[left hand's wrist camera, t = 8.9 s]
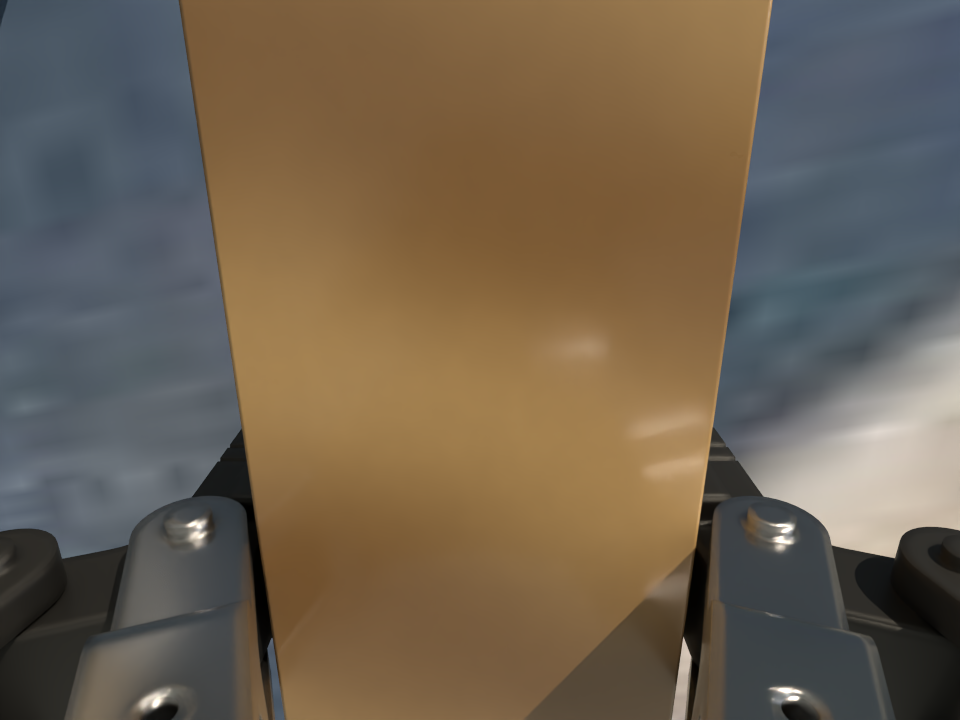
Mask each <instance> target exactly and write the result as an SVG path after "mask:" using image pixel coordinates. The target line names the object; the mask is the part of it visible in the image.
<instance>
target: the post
mask: <svg viewBox="0 0 960 720" xmlns="http://www.w3.org/2000/svg"><path fill="white" fill-rule="evenodd" d="M772 1H773V0H179V5H180V12H181V19H182V26H183V32H184V39H185V46H186V53H187V59H188V66H189V73H190V80H191V87H192V93H193V100H194V107H195V114H196V120H197V127H198V134H199V141H200V148H201V154H202V161H203V168H204V175H205V181H206V188H207V195H208V202H209V209H210V215H211V222H212V229H213V236H214V243H215V249H216V256H217V263H218V270H219V276H220V283H221V290H222V297H223V304H224V310H225V317H226V324H227V331H228V337H229V344H230V351H231V358H232V365H233V371H234V378H235V385H236V392H237V398H238V405H239V412H240V419H241V426H242V432H243V439H244V446H245V453H246V460H247V466H248V473H249V480H250V487H251V493H252V500H253V507H254V514H255V521H256V527H257V534H258V541H259V548H260V554H261V561H262V568H263V575H264V582H265V588H266V595H267V602H268V609H269V615H270V622H271V629H272V636H273V643H274V649H275V656H276V663H277V670H278V676H279V683H280V690H281V697H282V704H283V710H284V717H285V720H672V713H673V705H674V698H675V691H676V684H677V677H678V670H679V663H680V656H681V648H682V641H683V634H684V627H685V620H686V613H687V606H688V599H689V591H690V584H691V577H692V570H693V563H694V556H695V549H696V542H697V535H698V527H699V520H700V513H701V506H702V499H703V492H704V485H705V478H706V470H707V463H708V456H709V449H710V442H711V435H712V428H713V421H714V414H715V406H716V399H717V392H718V385H719V378H720V371H721V364H722V357H723V349H724V342H725V335H726V328H727V321H728V314H729V307H730V300H731V292H732V285H733V278H734V271H735V264H736V257H737V250H738V243H739V236H740V228H741V221H742V214H743V207H744V200H745V193H746V186H747V179H748V171H749V164H750V157H751V150H752V143H753V136H754V129H755V122H756V115H757V107H758V100H759V93H760V86H761V79H762V72H763V65H764V58H765V50H766V43H767V36H768V29H769V22H770V15H771V8H772Z"/></svg>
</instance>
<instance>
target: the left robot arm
mask: <svg viewBox="0 0 960 720" xmlns="http://www.w3.org/2000/svg"><path fill="white" fill-rule="evenodd" d="M683 637H684V639H685V641H686V644H687V647H688V649H689V652H690V655H691V663H690V669H689V678H688V690H687V701H686V713H685V720H960V531H959V530H954V529H949V528H941V527H921V528H916V529H912V530H910V531H908V532H906V533H905V534H904V535H903V536H902V538H901V540H900V543H899V546H898V550H897V553H896V557H895V558H890V557H885V556H880V555H875V554H870V553H865V552H859V551H854V550H849V549H844V548H840V547H836V546H832V545H831V541H830V537H829V534H828V531H827V530H826V528H825V527H824V526H823V525H822V523H821V522H820V521H819V520H817V519H816V518H815V517H814V516H812V515H811V514H809V513H808V512H806V511H805V510H803V509H801V508H799V507H797V506H794V505H792V504H789V503H787V502H784V501H780V500H777V499H772V498H768V497H763V496H762V494H761V493H760V491H759V490H758V489H757V487H756V486H755V484H754V483H753V482H752V480H751V479H750V477H749V476H748V475H747V473H746V472H745V470H744V469H743V468H742V466H741V465H740V463H739V462H738V461H735V456H734V455H733V454H732V452H731V451H730V449H729V448H728V447H726V444H725V442H724V441H723V440H722V438H721V437H720V435H719V434H718V433H717V431H716V430H715V429H714V428H712V435H711V442H710V449H709V456H708V463H707V470H706V478H705V485H704V492H703V499H702V506H701V513H700V520H699V527H698V535H697V542H696V549H695V556H694V563H693V570H692V577H691V584H690V591H689V599H688V606H687V613H686V620H685V627H684V634H683ZM271 638H273V636H272V629H271V622H270V615H269V609H268V602H267V595H266V588H265V582H264V575H263V568H262V561H261V554H260V548H259V541H258V534H257V527H256V521H255V514H254V507H253V500H252V493H251V487H250V480H249V473H248V466H247V460H246V453H245V446H244V439H243V432H242V429H241V430H240V432H239V433H238V435H237V436H236V437H235V439H234V440H233V441H232V443H231V444H230V448H227V450H226V451H225V452H224V454H223V455H222V457H221V458H220V462H217V463H216V465H215V466H214V468H213V469H212V470H211V472H210V473H209V474H208V476H207V477H206V479H205V480H204V481H203V483H202V484H201V485H200V487H199V488H198V490H197V491H196V492H195V494H194V495H193V496H192V498H188V499H183V500H180V501H176V502H173V503H171V504H168V505H166V506H163V507H161V508H159V509H157V510H155V511H154V512H152V513H151V514H149V515H147V516H146V517H145V518H144V519H142V520H141V521H140V522H139V523H138V524H137V525H136V527H135V528H134V530H133V531H132V534H131V536H130V540H129V545H126V546H123V547H119V548H115V549H111V550H106V551H101V552H95V553H90V554H85V555H80V556H75V557H70V558H65V559H62V557H61V554H60V550H59V547H58V543H57V541H56V538H55V537H54V536H53V535H52V534H50V533H48V532H46V531H42V530H38V529H14V530H7V531H2V532H0V720H275V714H274V702H273V690H272V679H271V670H270V663H269V657H268V651H267V648H268V645H269V642H270V640H271Z"/></svg>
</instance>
